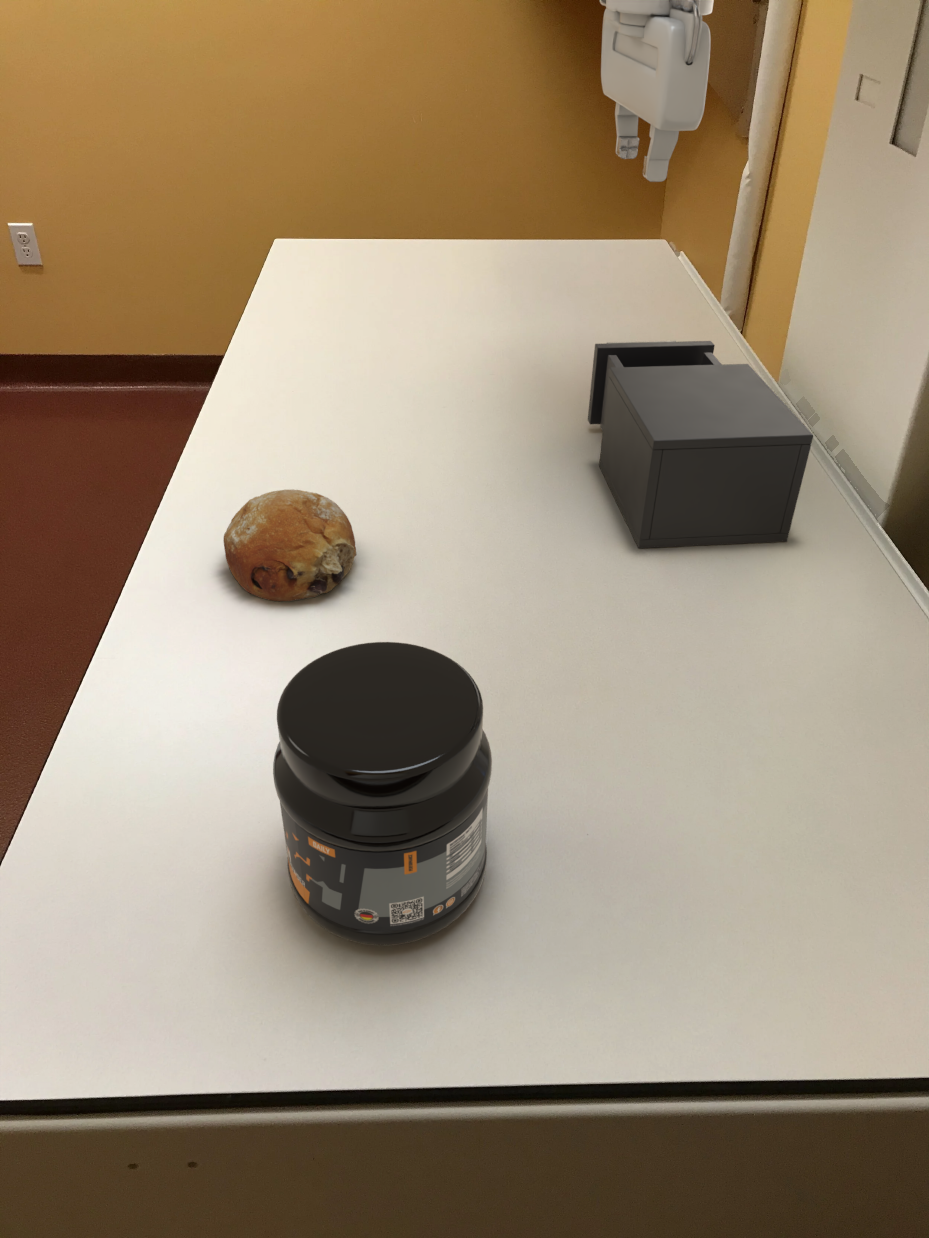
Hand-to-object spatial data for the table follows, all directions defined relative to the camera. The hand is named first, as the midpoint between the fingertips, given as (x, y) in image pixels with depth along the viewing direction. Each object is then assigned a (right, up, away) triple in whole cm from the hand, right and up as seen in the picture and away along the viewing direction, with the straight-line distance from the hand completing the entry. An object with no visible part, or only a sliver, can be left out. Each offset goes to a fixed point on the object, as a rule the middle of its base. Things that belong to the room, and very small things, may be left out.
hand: (639, 168), depth 88 cm
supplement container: (-20, -55, -36) cm, 69 cm away
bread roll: (-29, -37, -13) cm, 49 cm away
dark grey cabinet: (+4, -31, -3) cm, 31 cm away
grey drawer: (+3, -24, +5) cm, 24 cm away
